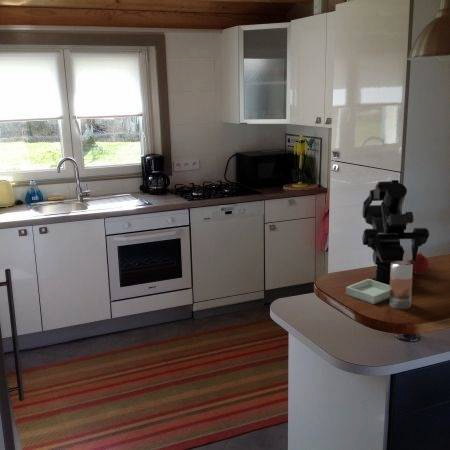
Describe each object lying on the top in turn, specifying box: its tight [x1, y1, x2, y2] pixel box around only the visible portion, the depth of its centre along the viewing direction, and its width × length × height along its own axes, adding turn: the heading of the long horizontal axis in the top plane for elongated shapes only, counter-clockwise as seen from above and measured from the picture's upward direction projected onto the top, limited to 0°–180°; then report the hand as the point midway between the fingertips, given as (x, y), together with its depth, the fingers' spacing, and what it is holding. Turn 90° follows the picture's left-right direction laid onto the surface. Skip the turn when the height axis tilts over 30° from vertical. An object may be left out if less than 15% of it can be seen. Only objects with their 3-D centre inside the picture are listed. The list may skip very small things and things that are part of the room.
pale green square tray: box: [345, 278, 390, 305], centre depth 167 cm, size 11×11×2 cm
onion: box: [409, 251, 430, 276], centre depth 181 cm, size 6×6×8 cm
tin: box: [389, 260, 413, 310], centre depth 157 cm, size 6×6×12 cm
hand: (398, 261), depth 160 cm, fingers open, 9 cm apart
